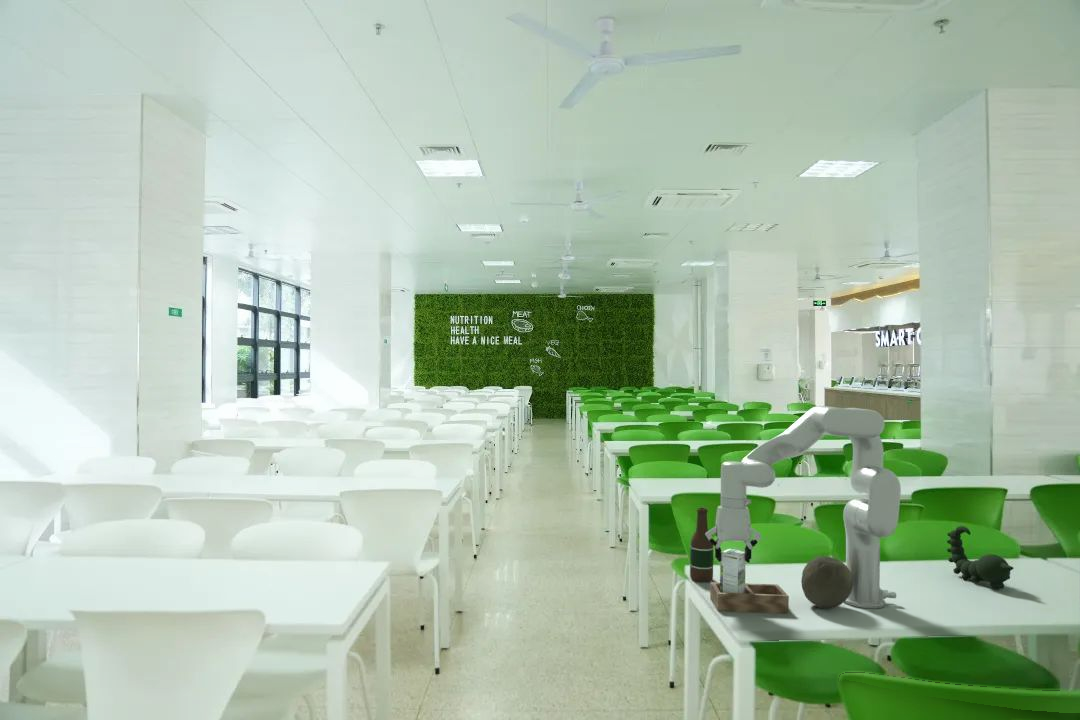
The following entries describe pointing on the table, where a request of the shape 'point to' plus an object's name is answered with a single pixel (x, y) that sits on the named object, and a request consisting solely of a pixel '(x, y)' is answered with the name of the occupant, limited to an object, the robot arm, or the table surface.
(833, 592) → the cantaloupe
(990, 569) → the toy figurine
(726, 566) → the syrup box
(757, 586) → the slot rack
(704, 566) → the beer bottle
